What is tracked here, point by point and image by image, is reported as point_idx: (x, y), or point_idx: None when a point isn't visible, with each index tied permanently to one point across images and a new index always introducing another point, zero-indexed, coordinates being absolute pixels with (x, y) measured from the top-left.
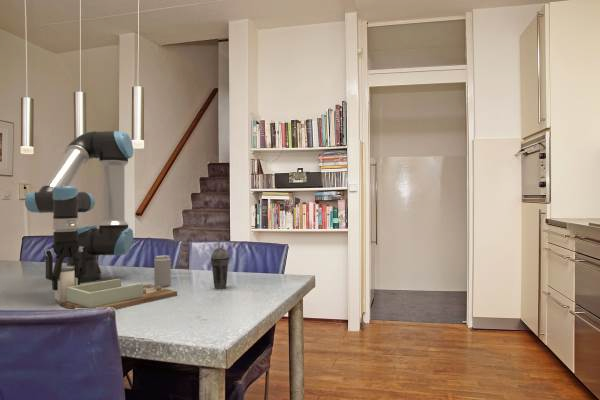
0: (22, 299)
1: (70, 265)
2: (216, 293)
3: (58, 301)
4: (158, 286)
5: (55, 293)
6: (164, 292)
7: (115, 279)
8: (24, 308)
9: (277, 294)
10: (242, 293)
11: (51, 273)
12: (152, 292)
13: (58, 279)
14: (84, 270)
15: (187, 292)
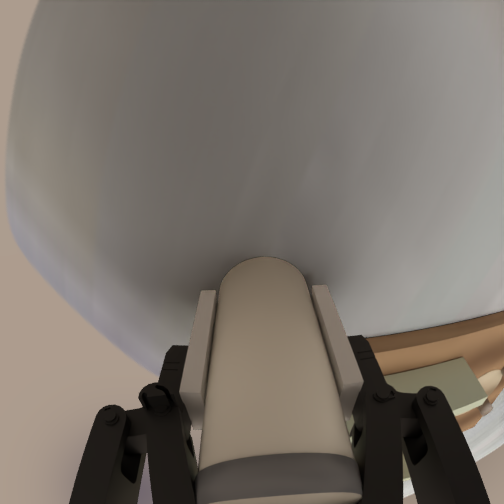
0: (91, 27)
1: (359, 496)
2: (488, 428)
3: (219, 292)
4: (484, 414)
5: (197, 319)
6: (460, 427)
7: (468, 407)
8: (64, 279)
9: (481, 455)
10: (488, 440)
11: (132, 480)
12: (456, 417)
13: (204, 413)
14: (418, 448)
15: (497, 403)
